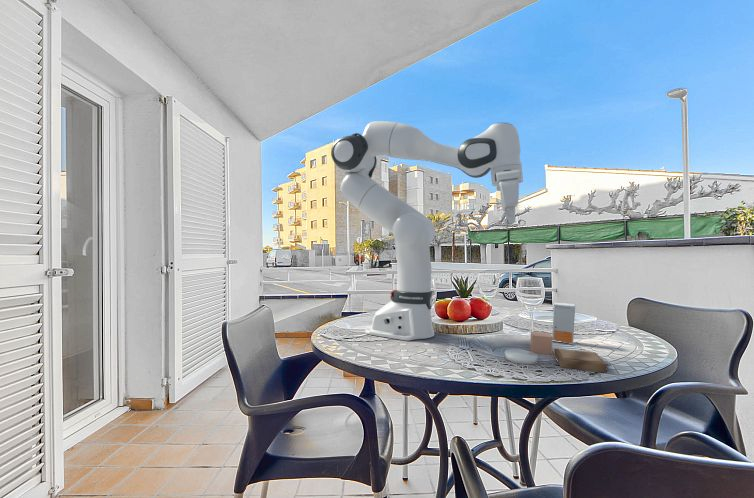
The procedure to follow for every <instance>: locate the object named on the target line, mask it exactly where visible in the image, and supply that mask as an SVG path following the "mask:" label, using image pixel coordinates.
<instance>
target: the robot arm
mask: <svg viewBox="0 0 754 498" xmlns="http://www.w3.org/2000/svg"><path fill="white" fill-rule="evenodd" d="M520 143H521V142H520V135H519V132H518V129H517V128H516V126H515V125H514V124H512V123H509V122H496V123H493V124H491V125H490V126H489V127H487V129H485V130H484V131H482V132H481V133H480V134H478V135H476V136H474V137H472V138H468V139H466V140H465V141H463V142H462V143H461V144H460V145H459V147H456V146H455V147H454V146H450V145H447V144H446V145H445V144H442V143H439V142H436V141H435V140H433V139H431V138H430V137H429V136H427V135H426V134H425V133H424V132H423V131H422V130H420V129H419V128H418V127H415V126H412V125H410V124H406V123H403V122H397V121H396V122H395V121H389V120H388V121H386V120H383V121H382V120H375V121H370V122H369V123H367V125H366V126H365V128H364V130H363V133H362V134H361V133H357V132H356V133H353V134H349V135H347V136H341V137H340V138H337V140H335V141H334V143H333V144H332V146H331V150H330V151H331V152H330V156H331V159H332V161H333V162H334V164H335V165H336V166H337V168H339V169H341V170H343V171H345V172H344V178H343V179H342V181H341V183H340V192H341V195H342V196H343V197H344V198H345V200H347V202H349V204H351V205H352V206H354V207H353V208H355V209H356V210H358V211H359V212H361V213H362V215H365V216H366V217H368V219H370V220H371V221H373V222H374V223H376V224H377V225H378V226H380V227H381V228H384V229H385V230H387V231H388V232H389V233H391V234H393V238H394V247H395V248H394V250H395V255H396V256H395V257H396V264H397V265H396V268H397V269H396V270H397V271H396V272H397V273H396V288H395V289H393V290H392V291H391V292H390V293H389V294H390V296H389V297H390V301H388V302H387V303H386V304H385V305H382V307H380V308H379V309H378V310H376V311H375V313H374V315H373V317H372V323H371V324H370V325H368V326H366V327H365V330H364V333H365V334H366V335H369V336H370V335H371V336H377V337H383V338H388V339H389V338H390V339H396V340H401V341H406V342H407V341H413V340H423V339H430V338H432V337H434V336H435V332H434V327H433V320H432V307H433V291H432V263H431V250H430V249H431V248H430V244H431V243H432V242H433V240H434V239H435V237H436V236H435V235H436V228H435V224H434V223H433V221H432V220H431V219H430V218H429V217H427V216H426V215H424V214H423V213H421V212H420V211H418V210H417V209H416V208H414V206H413V207H412V206H411V205H410V204H409V203H407V202H406V201H403V199H401V198H399V197H398V196H396V195H395V194H394V193H392V192H390V191H389V190H388V189H387V188H385V187H384V186H382V185H381V184H379V183H378V182H377V181H375V180H374V179H372V177H373V173H374V171H375V169H376V167H377V162H378V161H377V160H378V159H377V157H378V156H386V157H391V158H395V159H399V160H400V159H402V160H411V161H423V162H424V161H425V162H431V163H436V164H439V165H443V166H448V167H451V168H456V169H458V170H460V171H461V172H462V173H464V174H465V175H467V176H468V177H470V178H472V179H473V178H474V179H476V178H477V179H479V178H482V177H484V176H486V175H487V174H488V173H489V172H490V178H491V186H493V187H496V191H498V192H500V203H501V211H502V212H504V215H505V219H506V225H507V226H512V225H513V224H514V223H516V218H515V217H516V216H515V215H516V207H517V206H518V205H519V195H520V193H519V192H520V184H522V182H524V178H523V177H524V176H523V166H522V165H523V164H522V162H521V158H520V157H521V156H520V155H521V144H520Z"/></svg>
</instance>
